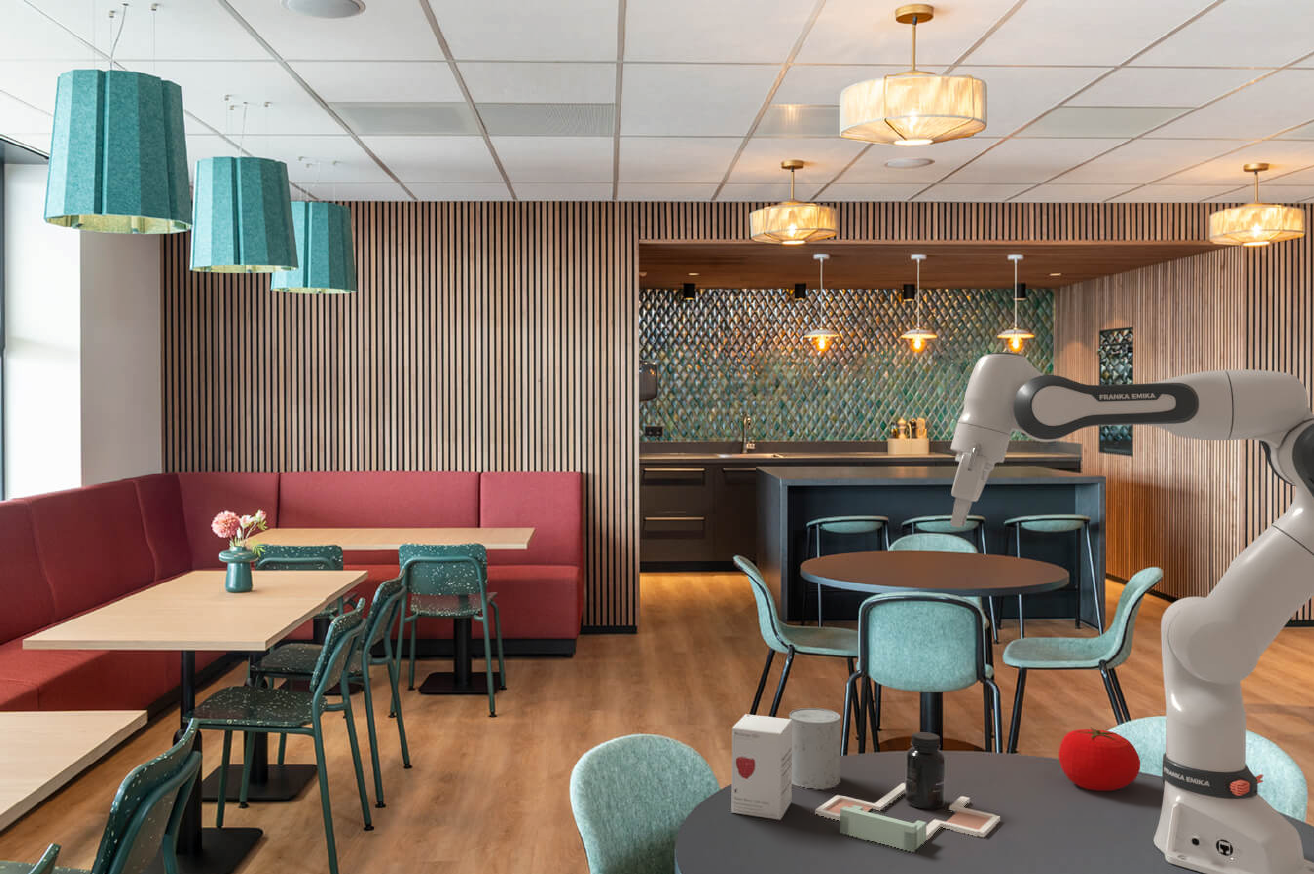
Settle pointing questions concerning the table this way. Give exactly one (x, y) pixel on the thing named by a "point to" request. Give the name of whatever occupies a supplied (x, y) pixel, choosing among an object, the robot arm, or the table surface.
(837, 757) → the speckled concrete cylinder
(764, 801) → the supplement box
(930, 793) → the supplement bottle
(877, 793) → the table surface
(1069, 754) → the tomato
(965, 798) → the trap lane
